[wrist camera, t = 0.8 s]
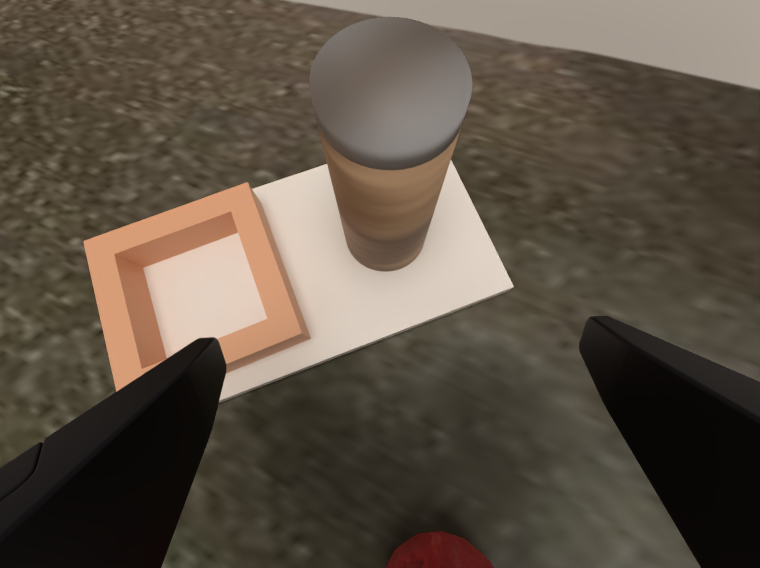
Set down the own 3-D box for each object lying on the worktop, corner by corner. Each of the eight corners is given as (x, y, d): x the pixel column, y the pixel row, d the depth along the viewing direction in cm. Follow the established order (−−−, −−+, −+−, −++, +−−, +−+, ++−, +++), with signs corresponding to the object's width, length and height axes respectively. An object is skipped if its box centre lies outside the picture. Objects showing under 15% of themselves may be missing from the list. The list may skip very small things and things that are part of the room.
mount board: (432, 139, 26) (435, 127, 25) (507, 291, 23) (513, 286, 22) (106, 249, 24) (92, 242, 23) (143, 432, 21) (129, 435, 20)
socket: (310, 338, 21) (301, 333, 19) (151, 404, 20) (119, 407, 18) (261, 202, 23) (247, 182, 21) (115, 256, 22) (83, 241, 20)
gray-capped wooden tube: (440, 225, 23) (502, 66, 11) (393, 287, 22) (409, 181, 10) (377, 183, 24) (374, -7, 12) (329, 241, 23) (275, 93, 11)
